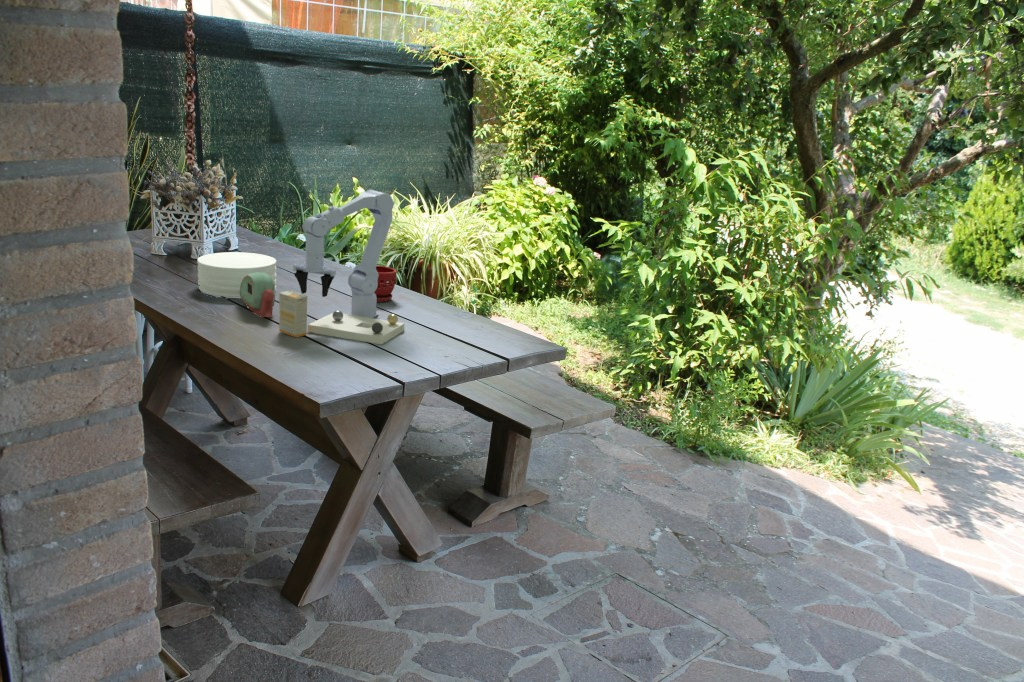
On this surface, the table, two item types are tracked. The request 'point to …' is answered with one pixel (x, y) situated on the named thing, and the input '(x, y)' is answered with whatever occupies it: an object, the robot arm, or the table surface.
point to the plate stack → (231, 271)
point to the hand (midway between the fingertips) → (314, 294)
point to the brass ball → (392, 319)
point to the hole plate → (355, 328)
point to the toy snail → (258, 293)
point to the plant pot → (385, 283)
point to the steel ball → (337, 315)
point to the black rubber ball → (377, 327)
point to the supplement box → (293, 313)
